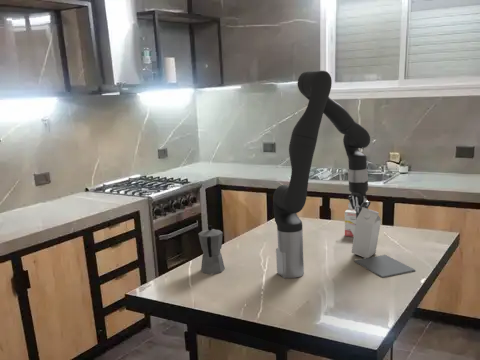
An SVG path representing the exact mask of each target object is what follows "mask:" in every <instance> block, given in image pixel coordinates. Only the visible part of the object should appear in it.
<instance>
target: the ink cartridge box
mask: <svg viewBox="0 0 480 360" xmlns="http://www.w3.org/2000/svg"><path fill="white" fill-rule="evenodd" d="M347 206H348V209H346V210H345V211H344V236H345V237H351V238H352V237H353V238H354V232H355V226H356V212H355V209H353V208H352V206H351V204H350V202H348V203H347Z"/></svg>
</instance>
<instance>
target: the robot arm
mask: <svg viewBox="0 0 480 360" xmlns="http://www.w3.org/2000/svg"><path fill="white" fill-rule="evenodd" d="M332 84H333V81H332V75H331V74H330V72H328V71H327V70H323V69H321V70H307V71H303V72H302V73H301V74H300V75H299V76H298V79H297V88H298V91H299V92H300V94H301V95H303V96H304V97H305V98H306V99H307V100H308V103H307V106H306V108H305V111H304V112H303V114H302V115H301V116H300V118H299V119H298V120H297V122H296V124H295V126H294V127H293V129H292V132H291V136H290V141H289V146H288V155H289V161H290V165H291V166H290V167H291V173H290V174H291V175H290V179H289V184H282V185H279V186H277V187H276V189H275V190H274V192H273V196H272V201H273V202H272V206H273V217H274V222H275V224H276V231H277V232H276V233H277V234H276V235H277V248H275V253H276V257H275V258H276V273H277V274H278V275H279V276H281V278H282V279H294V278H300V277H302V276H304V274H305V264H304V263H305V261H304V238H303V237H304V236H303V235H304V234H303V231H304V230H303V221H302V220H301V218H300V217H299V216H298V215H297V214H298V213H300V212H301V211H302V210H303V208H304V207H305V205H306V201H307V196H308V186H309V181H310V180H309V179H310V174H311V168H312V163H313V158H314V154H315V151H316V146H317V141H318V138H319V137H318V135H319V132H320V131H319V130H320V127H321V124H322V120H323V119H322V118H323V114H324V116H325V117H326V118H327V119H328V120H329V121H330V122H331V123H332V125H333V126H334V127H335V128H336V130H337V131H338V132H339V133H341V134H342V135H343V140H342V141H343V146H344V149H345V153H346V156H347V161H348V175H347V176H348V191H349V192H350V193H351V195H348V196H347V199H348V201H349V203H350V204H351V206H352V208H353V209H355V212H356V219H357V217H358V215H359V213H360V212H361V210H362V207H364V208H367V209H369V207H370V205H371V201H370V200H369V201H368V199H367V192H368V191H369V176H368V175H369V174H368V165H367V164H368V163H367V162H368V161H367V155H366V154H365V153H362V152H361V151H360V149H366V148H368V147H369V145H370V144H371V135H370V133H369V132H368V131H367V129H366V128H364V127H363V126H362V125H361V124H360V123H358V122H356V121H355V120H354V118H353V117H352V115H351V114H350V113H349V111H347V109H346V108H345V107H343V106H342V105H341V104H340V103H338V102H336V101H335V100H334V99H332V97H330V93H331V90H332Z"/></svg>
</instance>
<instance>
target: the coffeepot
mask: <svg viewBox="0 0 480 360" xmlns="http://www.w3.org/2000/svg"><path fill="white" fill-rule="evenodd" d="M207 228H208V229H206V230H202V231H200V232H199V233H198V238H199V243H200V247H201V250H202V253H203V254H202V258H201V268H200V271H201V272H202V273H203V274H206V275H216V274H219V273H222V272H224V270H225V268H226V267H225V264H224V258H223V256H222V255H223V254H222V253H221V250H222V246H223V245H222V244H223V231H221V229H215V228H213V225H208V226H207Z"/></svg>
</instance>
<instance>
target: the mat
mask: <svg viewBox="0 0 480 360" xmlns="http://www.w3.org/2000/svg"><path fill="white" fill-rule="evenodd" d="M354 262H355V263H356V264H358V265H359V266H361V267H363V268H365V269H367V270H369V271H370V272H372V273H374V274H375V275H376V276H379V277H380V278H388V277H394V276H398V275H403V274H408V273H413V272H416V268H413V267H411V266H409V265H407V264H405V263H403V262H401V261H399V260H397V259H394V258H393V257H390V256H389V255H388V254H382V255H376V256H370V257H369V258H364V257H363V258H360V259H355V260H354Z"/></svg>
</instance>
